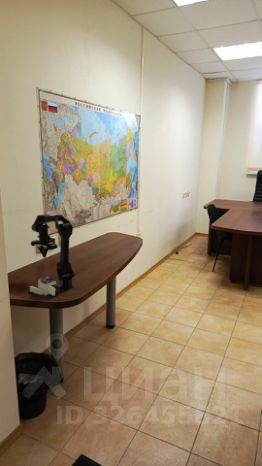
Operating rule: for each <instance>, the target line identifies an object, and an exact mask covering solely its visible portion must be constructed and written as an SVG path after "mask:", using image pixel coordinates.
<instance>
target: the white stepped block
mask: <svg viewBox="0 0 262 466" xmlns="http://www.w3.org/2000/svg"><path fill="white" fill-rule="evenodd" d="M37 283H38V285H37V286H38V287H37V288H39V289H43V295H44V296H48V295H50V296H53V297H55V296H58V295H59V293H60V291H61V288H60V285H57V280H56V279H53V278H51V277H49V276H47V277H44V278H40V279H38V282H37Z"/></svg>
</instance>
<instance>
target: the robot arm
mask: <svg viewBox="0 0 262 466" xmlns="http://www.w3.org/2000/svg"><path fill="white" fill-rule="evenodd" d="M53 222H54V223H55V224H54V227H55V228H56V230H57V234H58V236H59V237H60V247H58V244H57V243H56V238H54V237H51V235H50V234H49V228H50V225H49V223H53ZM59 222H61V223H59ZM31 231H33V232H35V233H38V235H37V238H38V239H35V240H32V241H31V242H30V246H32V247H35V246H37V247H36V248H37V249H38V250H39V252H40V254H41V256H42V257H43V258H44V259H45V258H46V257H47V255H48V252H49V251H52V250H56V249H58V248H60V250H59V251H60V253H59V254H60V255H59V256H60V257H59V261H58V262H56V275H57V279H58V281H59V282H60V283H59V284H60V285H59V287H60V290H64V291H69V290H70V289H71V290H72V289H73V288H74V285H73V278H75V271H74V270H73V268H72V264H71V262H70V261H69V260H70V238H71V236H72V235H73V231H74V225H73V224H72V223H71V221H70V220H69V219H68V218H66V217H65V216H64V215H63V214H61V213H60V214H54V215H50V214H47V213H45V214H38V215H37V216H36V217H35V220H34V222H33V224H32V225H31Z"/></svg>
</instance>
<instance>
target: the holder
mask: <svg viewBox="0 0 262 466" xmlns="http://www.w3.org/2000/svg"><path fill="white" fill-rule="evenodd" d="M29 292H31V293H33V294H38V295H40V296H43V295H44V294H43V289H39V288H38V287H35V286H29Z"/></svg>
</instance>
